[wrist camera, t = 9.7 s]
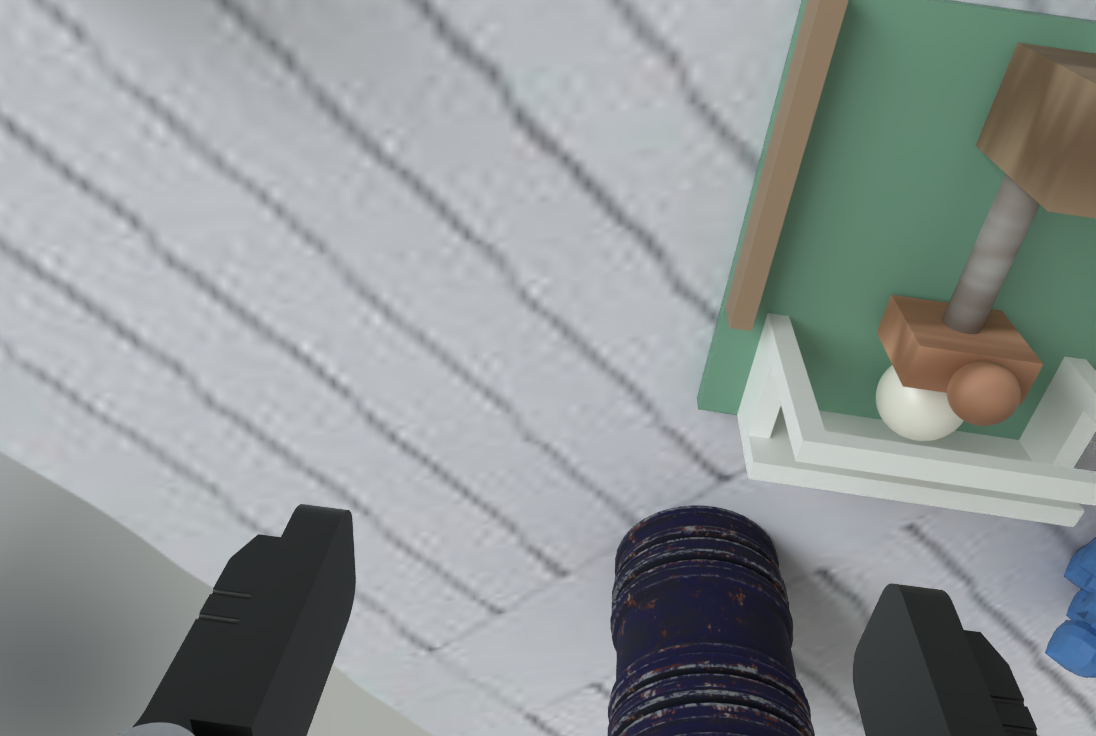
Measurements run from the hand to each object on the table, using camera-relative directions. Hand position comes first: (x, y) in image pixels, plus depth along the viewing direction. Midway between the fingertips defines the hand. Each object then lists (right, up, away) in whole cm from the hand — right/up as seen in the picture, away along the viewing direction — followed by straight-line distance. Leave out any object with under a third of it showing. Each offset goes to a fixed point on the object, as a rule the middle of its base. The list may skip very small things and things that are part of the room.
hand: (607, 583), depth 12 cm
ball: (+16, +2, +26) cm, 31 cm away
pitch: (+17, +9, +25) cm, 32 cm away
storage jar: (+8, -9, +37) cm, 39 cm away
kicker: (+18, +10, +22) cm, 30 cm away
